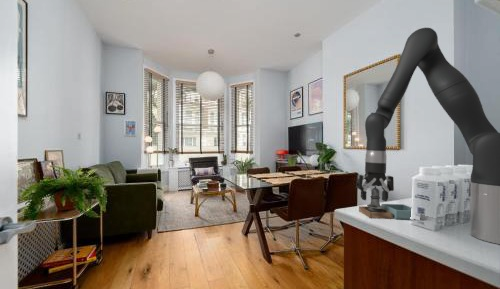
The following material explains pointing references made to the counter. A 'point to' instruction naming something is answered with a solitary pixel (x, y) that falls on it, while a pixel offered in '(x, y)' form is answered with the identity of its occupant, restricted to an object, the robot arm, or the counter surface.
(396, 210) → the teal tray
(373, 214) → the walnut socket
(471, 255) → the counter surface
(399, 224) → the counter surface
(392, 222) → the counter surface
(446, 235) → the counter surface
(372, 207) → the salt shaker
